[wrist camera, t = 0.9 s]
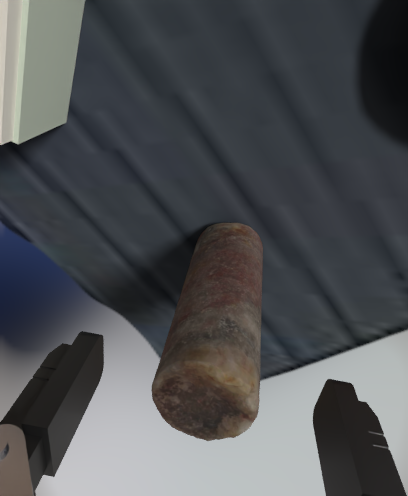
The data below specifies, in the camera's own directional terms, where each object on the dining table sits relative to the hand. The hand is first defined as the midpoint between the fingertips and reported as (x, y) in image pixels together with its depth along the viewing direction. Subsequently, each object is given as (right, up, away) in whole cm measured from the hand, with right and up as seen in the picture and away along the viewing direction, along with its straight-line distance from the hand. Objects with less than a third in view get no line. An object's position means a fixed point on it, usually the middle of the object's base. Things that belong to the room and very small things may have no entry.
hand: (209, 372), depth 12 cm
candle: (+3, +5, +26) cm, 27 cm away
